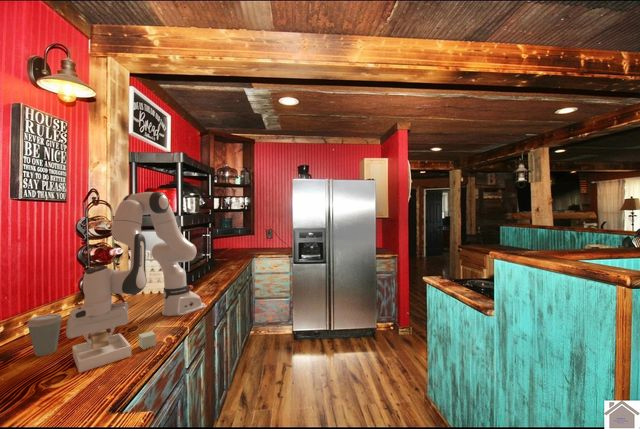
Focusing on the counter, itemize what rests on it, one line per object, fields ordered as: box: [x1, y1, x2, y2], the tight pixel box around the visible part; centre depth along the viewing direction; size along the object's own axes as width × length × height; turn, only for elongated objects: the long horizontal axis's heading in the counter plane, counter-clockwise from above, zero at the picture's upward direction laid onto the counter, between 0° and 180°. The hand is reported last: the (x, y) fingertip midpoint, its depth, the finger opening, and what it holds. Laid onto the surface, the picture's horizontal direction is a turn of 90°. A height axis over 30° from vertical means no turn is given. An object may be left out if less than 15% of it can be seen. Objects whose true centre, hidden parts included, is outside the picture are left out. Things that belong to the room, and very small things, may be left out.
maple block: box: [90, 329, 109, 350], centre depth 119 cm, size 5×5×5 cm
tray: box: [72, 332, 132, 373], centre depth 117 cm, size 16×18×4 cm
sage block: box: [138, 330, 157, 350], centre depth 124 cm, size 5×5×5 cm
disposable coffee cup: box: [26, 313, 63, 357], centre depth 120 cm, size 11×11×15 cm
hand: (99, 341), depth 119 cm, fingers closed on maple block, 5 cm apart
